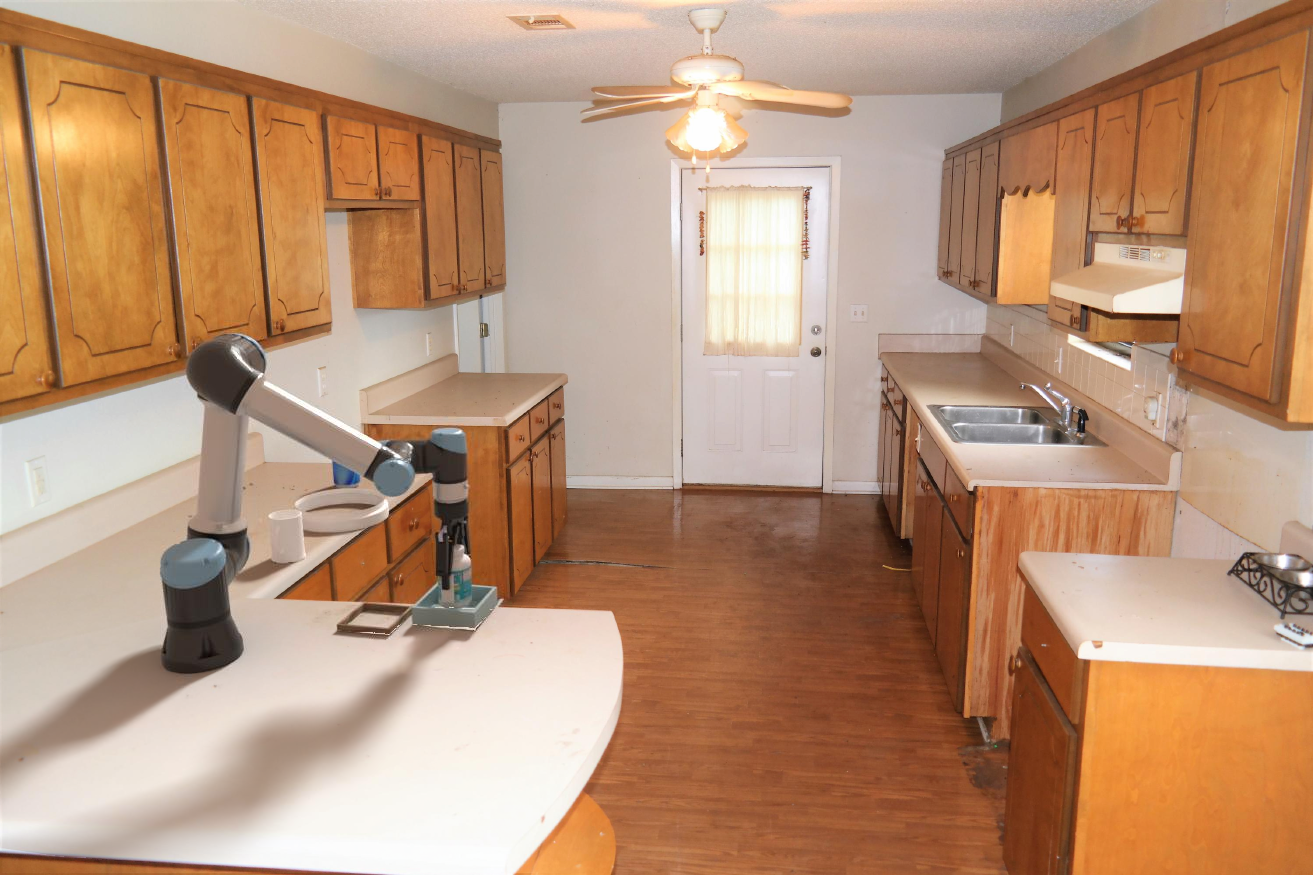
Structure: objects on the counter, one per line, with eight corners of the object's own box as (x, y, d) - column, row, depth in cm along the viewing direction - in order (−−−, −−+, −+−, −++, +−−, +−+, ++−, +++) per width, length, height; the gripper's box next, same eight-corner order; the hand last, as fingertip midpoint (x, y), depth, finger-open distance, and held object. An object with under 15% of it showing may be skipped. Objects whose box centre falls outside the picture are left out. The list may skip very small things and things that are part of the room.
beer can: (329, 488, 303) (325, 441, 300) (341, 481, 311) (338, 435, 308) (353, 490, 302) (350, 442, 298) (365, 482, 310) (362, 436, 306)
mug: (291, 569, 236) (287, 524, 233) (259, 567, 236) (254, 523, 233) (311, 552, 247) (308, 509, 244) (280, 551, 248) (276, 508, 245)
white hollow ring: (335, 539, 258) (333, 521, 256) (273, 521, 272) (272, 504, 270) (407, 514, 280) (407, 496, 279) (347, 498, 294) (346, 482, 293)
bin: (475, 630, 202) (474, 612, 201) (412, 625, 205) (411, 607, 204) (497, 603, 216) (497, 586, 215) (438, 598, 219) (437, 581, 218)
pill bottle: (432, 606, 208) (429, 550, 205) (450, 594, 215) (447, 539, 211) (461, 612, 205) (458, 555, 202) (478, 599, 212) (476, 544, 209)
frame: (389, 635, 200) (389, 629, 199) (337, 630, 202) (336, 624, 201) (413, 612, 211) (413, 606, 211) (363, 607, 213) (363, 601, 213)
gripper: (449, 513, 194) (453, 614, 199) (483, 486, 213) (486, 579, 218) (415, 511, 195) (420, 611, 200) (452, 484, 214) (456, 576, 220)
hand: (454, 594), depth 209 cm, fingers closed on pill bottle, 7 cm apart
